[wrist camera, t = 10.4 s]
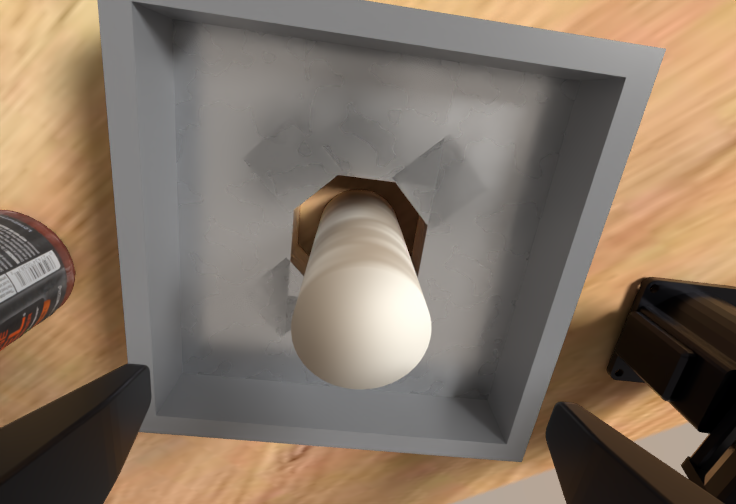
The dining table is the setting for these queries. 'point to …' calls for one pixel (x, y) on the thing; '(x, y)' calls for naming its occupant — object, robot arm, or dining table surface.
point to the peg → (360, 297)
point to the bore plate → (363, 160)
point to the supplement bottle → (30, 274)
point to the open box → (337, 404)
